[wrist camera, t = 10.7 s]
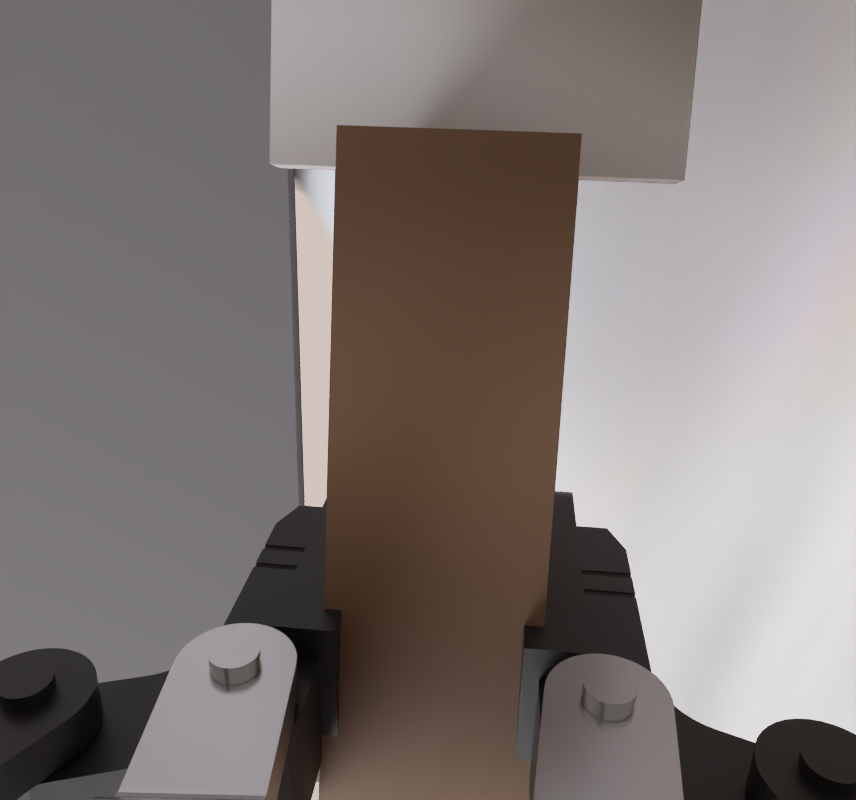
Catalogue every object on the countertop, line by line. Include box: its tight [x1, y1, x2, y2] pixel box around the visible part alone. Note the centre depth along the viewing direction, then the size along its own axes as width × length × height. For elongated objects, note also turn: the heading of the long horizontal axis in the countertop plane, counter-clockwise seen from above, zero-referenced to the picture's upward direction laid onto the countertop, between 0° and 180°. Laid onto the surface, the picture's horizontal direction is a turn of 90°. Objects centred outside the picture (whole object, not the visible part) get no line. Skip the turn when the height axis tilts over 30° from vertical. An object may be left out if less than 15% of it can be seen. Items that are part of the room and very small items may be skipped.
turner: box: [270, 0, 702, 800], centre depth 11 cm, size 20×6×4 cm, turn 178°
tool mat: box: [0, 0, 304, 683], centre depth 23 cm, size 22×11×1 cm, turn 178°
